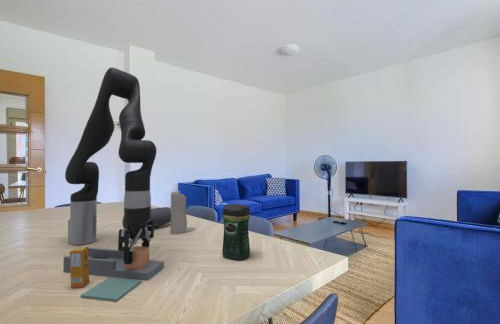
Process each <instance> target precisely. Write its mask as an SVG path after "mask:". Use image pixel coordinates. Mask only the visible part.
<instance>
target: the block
mask: <svg viewBox="0 0 500 324" xmlns="http://www.w3.org/2000/svg"><path fill="white" fill-rule="evenodd" d="M132 251H133V263H132V264H130V265H129V264H125V263H124V268H126V269H137V270H140V269H141V268H143V267H144V266H146V265H147V264H149V260H150V246H149V247H142V245H141V246H138V245H134V247H133V250H132Z"/></svg>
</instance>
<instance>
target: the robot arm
mask: <svg viewBox="0 0 500 324" xmlns="http://www.w3.org/2000/svg"><path fill="white" fill-rule="evenodd" d="M140 89H141V87H140V82H139V79H138V78H137V76H135V75H133V74H131V73H129V72H126V71H124V70H122V69H118V68H117V67H116V68H115V67H109V68H108V69H107V70H106V71H105V72H104V76H103V78H102V80H101V84H100V87H99V92H98V94H97V97H96V101H95V103H94V105H93V108H92V110H91V113H90V114H89V117H88V120H87V122H86V124H85V127H84V129H83V132H82V134H81V137H80V140H79V143H78V145H77V146H76V149H75V150H74V153H73V155H72V156H71V158H70V160H69V162H68V164H67V166H66V168H65V173H64V177H65V181H66V183H68V184H70V185H83V187H82V188H81V189H80V190H77V191H75V192H73V193H71V194H70V197H69V198H70V203H69V204H70V213H69V214H70V215H69V219H68V220H67V243H68V244H70V245H75V246H79V245H87V244H88V245H89V244H91V243H94V242H96V241H97V229H98V227H97V224H98V223H97V221H98V220H97V218H98V217H97V216H98V215H97V214H98V211H97V205H98V201H97V200H98V198H97V197H98V195H99V184H100V183H99V182H100V168H99V166H98V164H97V163H96V162H94V161H89V159H91V157H93V156H95V154H97V153H98V152H100V151H101V150H102V149H104V148H105V147H106V146H107V145H108V144H109V142H110V140H111V138H112V136H113V133H114V131H115V123H114V118H113V115H112V113H111V108H110V100H111V97H112V96H114V97H119V98H120V99H121V98H122V99H126V100H127V104H126V105H125V106H124V107H123V108H122V109H121V111H120V113H119V117H118V123H119V128H120V133H121V134H120V136H121V137H120V143H119V147H118V157H119V159H120V160H121V161H122V162H124V163H127V164H130V163H131V164H133V163H134V164H142V165H141V166H140V168H138V169H136V170H130V171H128V172H126V173H125V175H124V198H123V217H124V221H125V222H126V223H127V228H126V229H124V228H123V229H122V228H121V229H119V230H118V240H117V241H118V242H117V244H118V245H117V250H118V251H123V252H124V263H125V264H129V265H130V264H132V263H133V251H132V250H133V247H134V246H136V244H137V243H138V241H139V240H141V241H142V242H141V247H149V248H150V242H151V240H152V239H153V238H154V237H155V229H154V221H153V220H150V219H151V209H152V197H151V195H152V194H151V175H152V170H153V167H154V166H153V165H154V163H155V160H156V156H157V147H156V144H155V143H154V142H153V141H151V140H149V139H148V140H145V139H144V138H145V136H146V129H145V124H144V121H143V117H142V110H141V108H142V107H141V90H140ZM123 243H124V244H123Z"/></svg>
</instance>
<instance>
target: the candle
mask: <svg viewBox="0 0 500 324" xmlns="http://www.w3.org/2000/svg"><path fill="white" fill-rule="evenodd" d="M170 193H171V194H170V208H171V222H170V234H172V235H182V234H186V233H188V232H192V231H194V230H196V229H197V228H196V227H193V226H191V227H188V221H187V220H188V219H187V196H185V195H184V194H183V193H181V191H180V190H176V191H171V192H170Z"/></svg>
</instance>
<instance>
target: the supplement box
mask: <svg viewBox="0 0 500 324" xmlns="http://www.w3.org/2000/svg"><path fill="white" fill-rule="evenodd" d="M88 248H89V246H78V247H75V248H73V249H72V250H70V251H69V256H70V289H79V288H85V286H87V284H88V283H90V275H89V258H88Z"/></svg>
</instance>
